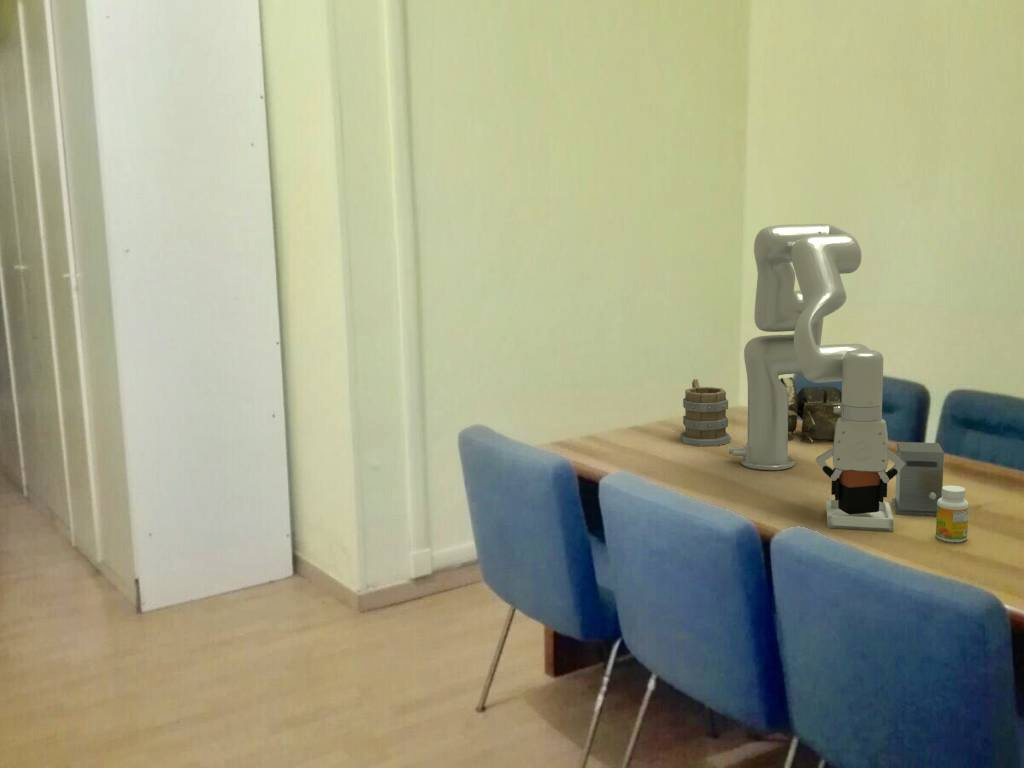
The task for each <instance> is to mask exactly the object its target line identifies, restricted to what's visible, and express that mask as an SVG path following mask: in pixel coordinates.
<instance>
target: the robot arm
mask: <svg viewBox="0 0 1024 768" xmlns="http://www.w3.org/2000/svg"><path fill="white" fill-rule="evenodd" d="M753 254H754V258H755V264H756V268H757V270H756V271H757V280H756V289H755V290H756V291H755V300H754V301H755V303H754V314H753V316H754V317H753V319H754V324H755V326H756V328H757V329H758V330H760V331H762V332H766V333H779V332H780V333H781V332H783V333H784V332H793V333H792V334H771V335H770V334H769V335H760V336H757V337H753V338H751V339H750V340H749V341H747V342H746V344H745V347H744V348H743V349H744V350H743V359H744V364H745V370H746V380H747V442H746V443H745V444H746V445H742V446H732V445H731V446H728V454H729V455H733V456H735V457H736V456H741V458H740V464H741V465H742V466H744V467H745V468H749V469H755V470H762V471H780V470H781V471H782V470H786V469H790V468H792V467H793V466H795V459H794V458H793V457H791V456H789V453H788V452H789V449H788V447H789V432H788V391H787V389H786V387H785V386H784V384H783V383H782V382H781V381H780V379H781V378H780V377H779V376H782V375H792V374H793V375H794V374H795V375H796V374H802V375H803V377H804V379H806V380H807V381H809V382H811V383H815V384H816V383H817V384H818V383H823V384H824V383H834V382H841V393H842V398H841V405H840V406H838V407H834V413H837V414H840V415H841V417H840V418H838V420H837V423H836V428H835V435H834V441H833V446H832V447H831V448H829V449H828V450H826V451H825V452H823V453H822V454H820V455H818V456H817V457H816V459H815V461H816V463H817V464H818V466H819V467H820V468H821V470H822V471H823V473H825V475H827V476H828V477H829V479H830V480H831V487H830V488H831V489H830V491H831V492H830V493H831V495H832V496H834V499H835V500H839V475H840V474H841V472H842V471H848V470H855V471H860V472H878V474H879V475H880V488H879V502H882V503H883V501H884V498H887V497H888V483H889V482H890V481H891V480H892V479H893V478H895V477H896V475H897V473H898V472H899V471H900V470H901V469H902V467H903V466H904V465H905V462H904V461H903V460H902V459H901V458H899V457H898V456H897V454H896V453H893V451H891V450H890V449H889V440H888V438H889V437H888V436H889V435H888V428H887V423H886V422H887V421H886V420H885V419H883V418H882V417H883V416H882V415H883V414H882V413H883V391H884V390H883V387H884V381H883V380H884V355H883V354H882V353H881V352H880V351H878V350H874V349H870V348H869V347H868V346H866V345H864V344H861V343H846V344H845V343H839V344H837V343H836V344H825V345H824V344H823V345H821V342H822V334H823V325H824V317H826V316H829V315H831V314H833V313H835V312H836V311H838V310H839V309H840V308H842V306H843V305H845V303H846V301H847V292H846V290H845V287H844V283H843V281H842V278H841V275H844V274H853V273H854V272H856V271H858V269H859V267H860V266H861V263H862V249H861V247H860V244H859V241H858V240H856V238H855V237H854V236H853V235H852V234H851V233H849V232H847V231H845V230H843V229H841V228H839V227H837V226H834V225H832V224H830V223H829V224H828V223H808V224H805V223H803V224H778V225H771V226H766V227H764V228H762V229H761V230H759V231H758V233H757V234H756V236H755V239H754V243H753ZM791 263H792V264H791ZM796 280H797V283H798V287H799V290H795V283H796ZM830 458H832V463H833V464H832V465H833V467H834V468H833V469H832V467H830V465H828V464H827V462H826V461H827V460H829V459H830ZM889 460H890V461H891V462H893V463H894V465H893V466H892V467H891V468H889V469H888V467H889V466H888V464H889ZM887 469H888V470H887Z"/></svg>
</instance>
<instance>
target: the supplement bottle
mask: <svg viewBox="0 0 1024 768" xmlns="http://www.w3.org/2000/svg"><path fill="white" fill-rule="evenodd" d="M965 497H966V488H965V487H962V486H961V485H960V486H959V485H943V487H942V497H941V498H940V499H938V501H937V516H936V521H935V525H936V526H935V537H936V538H937V539H938V540H939V541H942V540H943V542H946V541H947V542H946V543H953V542H957V543H963V542H966V541H967V539H968V531H969V530H968V526H969V522H968V521H969V508H970V507H969V502H968V501H967V500H966V499H965Z"/></svg>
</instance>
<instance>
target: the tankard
mask: <svg viewBox="0 0 1024 768" xmlns="http://www.w3.org/2000/svg"><path fill="white" fill-rule="evenodd" d="M691 385H692V387H691V388H687V389H685V390H684V392H685V396H684V398H683V399H682V407H683V408H684V410H685V411H684V412H685V413H684V414H685V415H683V416H682V424H683V426H684V427H685V432H684V431H683V432H681V433H680V440H681V441H682V443H683V444H684V445H688V444H689V445H691V446H694V445H695V446H694V447H700V446H701V447H719V446H720V445H721V446H724V445H726V443H727V444H729V442H730V443H731V442H732V436H731V435H730V434H729V433H728V432H727V431H726V429H727V428H728V427H729V418H728V417H727V411H726V410H729V400H728V399H726V398H727V397H726V395H727V393H726V391H725V389H723V388H722V387H721V388H720V387H715V386H714V387H713V386H710V387H709V386H701V385H700V383H699V379H697V378H696V379H692V382H691ZM723 444H724V445H723Z"/></svg>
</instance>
